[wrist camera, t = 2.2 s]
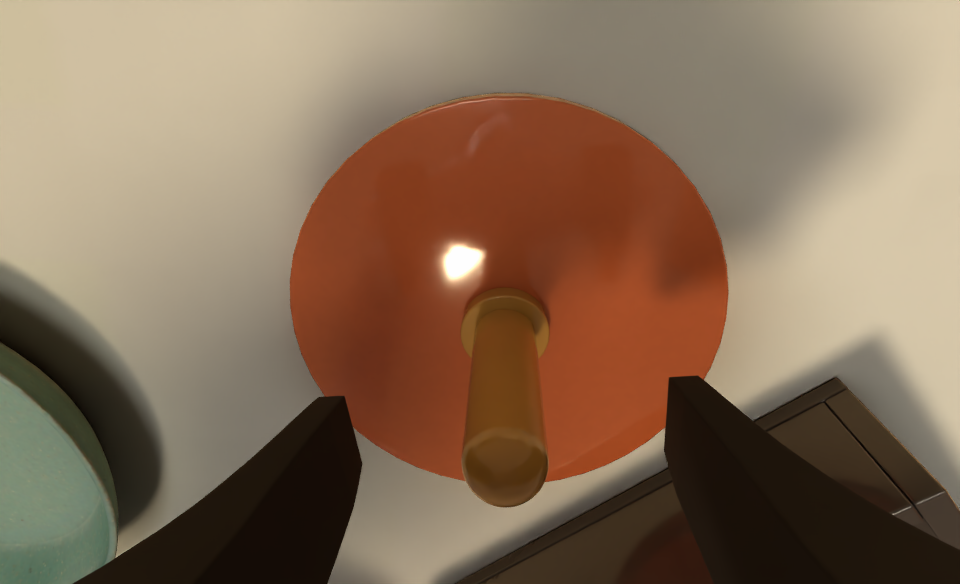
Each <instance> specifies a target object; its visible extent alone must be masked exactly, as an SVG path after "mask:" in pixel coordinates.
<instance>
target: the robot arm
mask: <svg viewBox="0 0 960 584" xmlns="http://www.w3.org/2000/svg"><path fill="white" fill-rule="evenodd" d="M664 452H665V455H666V459H667V463H668V467H669V470H670V474H671V477H672V481H673V484H674V488H675V491H676V494H677V497H678V499H679V502H680V504H681V507H682V509H683V511H684V514H685V516H686V519H687V521H688V524H689V526H690V528H691V531H692V533H693V536H694V538H695V540H696V543H697V545H698V547H699V550H700V552H701V555H702V557H703V559H704V562H705V564H706V567H707V569H708V571H709V574H710V576H711V578H712V581H713V583H714V584H960V550H959V549H957V548H955V547H953V546H951V545H949V544H947V543H945V542H943V541H941V540H939V539H937V538H935V537H933V536H931V535H930V534H928V533H926V532H924V531H922V530H920V529H918V528H916V527H914V526H913V525H911V524H909V523H907V522H905V521H903V520H901V519H899V518H897V517H896V516H894V515H892V514H890V513H889V512H887V511H885V510H883V509H882V508H880V507H878V506H876V505H875V504H873V503H871V502H869V501H868V500H866V499H865V498H863V497H861V496H860V495H858V494H856V493H855V492H853V491H852V490H850V489H848V488H847V487H845V486H843V485H842V484H840V483H838V482H837V481H835V480H834V479H832V478H831V477H829V476H828V475H826V474H825V473H823V472H822V471H820V470H819V469H817V468H816V467H814V466H813V465H811V464H810V463H809V462H807V461H806V460H804V459H803V458H801V457H800V456H799V455H797V454H796V453H794V452H793V451H791V450H790V449H789V448H787V447H786V446H785V445H783V444H782V443H781V442H779V441H778V440H777V439H775V438H774V437H773V436H771V435H770V434H769V433H767V432H766V431H765V430H764V429H762V428H761V427H760V426H759V425H757V424H756V423H755V422H753V421H752V420H751V419H750V418H749V417H747V416H746V415H745V414H744V413H742V412H741V411H740V410H739V409H738V408H736V407H735V406H734V405H733V404H732V403H730V402H729V401H728V400H727V399H726V398H724V397H723V396H722V395H721V394H720V393H718V392H717V391H716V390H715V389H714V388H713V387H711V386H710V385H709V384H708V383H707V382H705V381H704V380H703V379H702V378H700V377H699V376H698V375H696V376H679V377H669V381H668V397H667V413H666V428H665V444H664ZM361 469H362V460H361V457H360V453H359V449H358V445H357V441H356V437H355V434H354V430H353V426H352V422H351V418H350V414H349V411H348V407H347V403H346V399H345V396H329V397H318V398H317V399H316V400H315V401H313V402H312V403H311V404H310V405H309V406H308V407H307V408H306V409H304V410H303V411H302V412H301V413H300V414H299V415H298V416H297V417H296V418H295V419H294V420H293V421H292V422H290V423H289V424H288V425H287V426H286V427H285V428H284V429H283V430H282V431H281V432H280V433H279V434H278V435H276V436H275V437H274V438H273V439H272V440H271V441H270V442H269V443H268V444H267V445H265V446H264V447H263V448H262V449H261V450H260V451H259V452H258V453H257V454H256V455H254V456H253V457H252V458H251V459H250V460H249V461H248V462H246V463H245V464H244V465H243V466H242V467H240V468H239V469H238V470H237V471H236V472H234V473H233V474H232V475H231V476H230V477H229V478H227V479H226V480H225V481H224V482H223V483H221V484H220V485H219V486H218V487H217V488H215V489H214V490H213V491H212V492H210V493H209V494H208V495H207V496H205V497H204V498H203V499H201V500H200V501H199V502H198V503H196V504H195V505H194V506H192V507H191V508H190V509H188V510H187V511H185V512H184V513H183V514H181V515H180V516H178V517H177V518H176V519H174V520H173V521H171V522H170V523H169V524H167V525H166V526H164V527H163V528H161V529H160V530H159V531H157V532H156V533H154V534H152V535H151V536H149V537H148V538H146V539H145V540H143V541H142V542H140V543H138V544H137V545H135V546H134V547H132V548H131V549H129V550H127V551H126V552H124V553H123V554H121V555H120V556H118V557H116V558H115V559H113V560H112V561H110V562H109V563H107V564H105V565H104V566H102V567H100V568H99V569H97V570H95V571H93V572H92V573H90V574H88V575H86V576H85V577H83V578H81V579H80V580H78V581H76V582H74V583H73V584H328V581H329V578H330V575H331V572H332V569H333V566H334V563H335V560H336V558H337V555H338V552H339V549H340V546H341V543H342V540H343V537H344V534H345V531H346V528H347V525H348V522H349V519H350V516H351V513H352V510H353V507H354V503H355V499H356V494H357V489H358V485H359V479H360V474H361Z"/></svg>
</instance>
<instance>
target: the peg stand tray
mask: <svg viewBox="0 0 960 584" xmlns="http://www.w3.org/2000/svg"><path fill="white" fill-rule="evenodd" d="M755 423H756V424H757V425H759V426H760V427H761V428H762V429H764V430H765V431H766V432H767V433H769V434H770V435H771V436H773V437H774V438H775V439H777V440H778V441H779V442H781V443H782V444H783V445H785V446H786V447H787V448H789V449H790V450H791V451H793V452H794V453H796V454H797V455H799V456H800V457H801V458H803V459H804V460H806V461H807V462H809V463H810V464H811V465H813V466H814V467H816V468H817V469H819V470H820V471H822V472H823V473H825V474H826V475H828V476H829V477H831V478H832V479H834V480H835V481H837V482H838V483H840V484H842V485H843V486H845V487H847V488H848V489H850V490H852V491H853V492H855V493H856V494H858V495H860V496H861V497H863V498H865V499H866V500H868V501H869V502H871V503H873V504H875V505H876V506H878V507H880V508H882V509H883V510H885V511H887V512H889V513H890V514H892V515H894V516H896V517H897V518H899V519H901V520H903V521H905V522H907V523H909V524H911V525H913V526H914V527H916V528H918V529H920V530H922V531H924V532H926V533H928V534H930V535H931V536H933V537H935V538H937V539H939V540H941V541H943V542H945V543H947V544H949V545H951V546H953V547H955V548H957V549H959V550H960V510H959V508H958V507H957V505H956V504H955V502H954V501H953V499H952V498H951V496H950V495H949V493H948V492H947V490H946V489H945V488H944V487H943V486H942V485H941V484H940V483H939V482H938V481H937V480H936V479H935V478H934V477H933V476H932V474H931V473H930V472H929V471H928V470H927V469H926V468H925V467H924V466H923V465H922V464H921V463H920V462H919V461H918V460H917V459H916V458H915V457H914V456H913V455H912V454H911V453H910V452H909V451H908V450H907V449H906V448H905V447H904V446H903V445H902V444H901V443H900V441H899V440H898V439H897V438H896V437H895V436H894V435H893V434H892V433H891V432H890V431H889V430H888V429H887V428H886V427H885V426H884V425H883V424H882V423H881V422H880V421H879V420H878V419H877V418H876V417H875V416H874V415H873V414H872V413H871V412H870V411H869V409H868V408H867V407H866V406H865V405H864V404H863V403H862V402H861V401H860V400H859V399H858V398H857V397H856V396H855V395H854V394H853V393H852V392H851V391H850V390H849V389H848V388H847V387H846V386H845V385H844V384H843V383H842V382H841V381H840V380H839V379H838V378H835V379H833V380H831V381H829V382H827V383H825V384H823V385H822V386H820V387H818V388H816V389H814V390H812V391H811V392H809V393H807V394H805V395H803V396H801V397H799V398H798V399H796V400H794V401H792V402H790V403H788V404H786V405H785V406H783V407H781V408H779V409H777V410H775V411H774V412H772V413H770V414H768V415H766V416H764V417H762V418H761V419H759V420H757V421H755ZM456 584H714V583H713V581H712V578H711V576H710V574H709V571H708V569H707V567H706V564H705V562H704V559H703V557H702V555H701V552H700V550H699V547H698V545H697V543H696V540H695V538H694V536H693V533H692V531H691V528H690V526H689V524H688V521H687V519H686V516H685V514H684V511H683V509H682V507H681V504H680V502H679V499H678V497H677V494H676V491H675V488H674V484H673V481H672V477H671V474H670V470H669V468H668V469H666V470H664V471H663V472H661V473H659V474H657V475H655V476H653V477H652V478H650V479H648V480H646V481H644V482H642V483H640V484H639V485H637V486H635V487H633V488H631V489H629V490H628V491H626V492H624V493H622V494H620V495H618V496H616V497H615V498H613V499H611V500H609V501H607V502H605V503H603V504H602V505H600V506H598V507H596V508H594V509H592V510H591V511H589V512H587V513H585V514H583V515H581V516H579V517H578V518H576V519H574V520H572V521H570V522H568V523H567V524H565V525H563V526H561V527H559V528H557V529H555V530H554V531H552V532H550V533H548V534H546V535H544V536H542V537H541V538H539V539H537V540H535V541H533V542H531V543H530V544H528V545H526V546H524V547H522V548H520V549H518V550H517V551H515V552H513V553H511V554H509V555H507V556H506V557H504V558H502V559H500V560H498V561H496V562H494V563H493V564H491V565H489V566H487V567H485V568H483V569H482V570H480V571H478V572H476V573H474V574H472V575H470V576H469V577H467V578H465V579H463V580H461V581H459V582H457V583H456Z"/></svg>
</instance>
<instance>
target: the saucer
mask: <svg viewBox="0 0 960 584" xmlns="http://www.w3.org/2000/svg"><path fill="white" fill-rule="evenodd" d="M117 542H118V505H117V497H116V491H115V486H114V482H113V478H112V474H111V471H110V468H109V465H108V462H107V459H106V457H105V454H104V452H103V450H102V447H101V445H100V443H99V441H98V439H97V437H96V435H95V433H94V431H93V429H92V427H91V426H90V424H89V423H88V421H87V420H86V418H85V417H84V415H83V414H82V412H81V411H80V410H79V409H78V407H77V406H76V405H75V404H74V402H73V401H72V400H71V398H70V397H69V396H68V395H67V394H66V393H65V392H64V391H63V390H62V389H61V388H60V387H59V386H58V385H57V384H56V383H55V382H54V381H53V380H52V379H50V378H49V377H48V376H47V375H46V374H45V373H43V372H42V371H41V370H40V369H39V368H38V367H36V366H35V365H33V364H32V363H31V362H29V361H28V360H26V359H25V358H23V357H22V356H21V355H19V354H18V353H16V352H15V351H13V350H12V349H10V348H9V347H7V346H6V345H4V344H2V343H0V584H73V583H74V582H76V581H78V580H80V579H81V578H83V577H85V576H86V575H88V574H90V573H92V572H93V571H95V570H97V569H99V568H100V567H102V566H104V565H105V564H107V563H109V562H110V561H112V560H113V559H115V556H116V551H117Z"/></svg>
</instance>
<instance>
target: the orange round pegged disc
mask: <svg viewBox="0 0 960 584" xmlns="http://www.w3.org/2000/svg"><path fill="white" fill-rule="evenodd" d="M727 304H728V276H727V264H726V260H725V255H724V251H723V246H722V242H721V238H720V236H719V233H718V230H717V228H716V225H715V223H714V220H713V218H712V215H711V213H710V211H709V209H708V208H707V206H706V204H705V203H704V201H703V199H702V198H701V196H700V194H699V192H698V191H697V189H696V187H695V186H694V185H693V184H692V183H691V181H690V180H689V179H688V178H687V176H686V175H685V174H684V173H683V172H682V170H681V169H680V168H679V167H678V166H677V164H676V163H675V162H673V161H672V160H671V159H670V158H669V157H668V156H667V155H666V154H664V153H663V152H662V151H661V150H660V149H659V148H658V147H657V146H656V145H654V144H653V143H652V142H651V141H649V140H648V139H647V138H645V137H644V136H642V135H641V134H639V133H638V132H636V131H634V130H633V129H631V128H630V127H628V126H627V125H625V124H624V123H622V122H621V121H619V120H617V119H615V118H613V117H610V116H608V115H606V114H604V113H602V112H600V111H598V110H595V109H593V108H591V107H588V106H584V105H581V104H578V103H574V102H571V101H568V100H564V99H561V98H555V97H549V96H542V95H536V94H529V93H491V94H483V95H475V96H468V97H462V98H458V99H454V100H451V101H447V102H443V103H440V104H436V105H432V106H430V107H428V108H425V109H423V110H421V111H418V112H416V113H414V114H411V115H409V116H407V117H404V118H403V119H401V120H399V121H398V122H396V123H394V124H393V125H391V126H389V127H388V128H386V129H385V130H383V131H381V132H380V133H378V134H377V135H375V136H374V137H373V138H372V139H370V140H369V141H368V142H367V143H366V144H364V145H363V146H362V147H361V148H360V149H358V150H357V151H356V152H355V153H353V154H352V155H351V156H350V157H349V158H347V160H346V161H345V162H344V163H343V164H342V165H341V166H340V167H339V169H338V170H337V171H336V172H335V173H334V174H333V175H332V176H331V177H330V179H329V180H328V181H327V182H326V184H325V185H324V187H323V188H322V190H321V192H320V193H319V195H318V196H317V198H316V199H315V201H314V202H313V204H312V206H311V208H310V210H309V212H308V214H307V216H306V219H305V221H304V223H303V225H302V227H301V230H300V233H299V236H298V240H297V243H296V247H295V250H294V254H293V260H292V268H291V276H290V308H291V314H292V320H293V325H294V331H295V335H296V338H297V341H298V344H299V347H300V350H301V354H302V356H303V358H304V360H305V362H306V365H307V367H308V369H309V371H310V373H311V375H312V377H313V379H314V380H315V382H316V383H317V385H318V386H319V388H320V390H321V391H322V393H323V394H324V396H325V397H329V396H345V399H346V403H347V407H348V411H349V414H350V418H351V422H352V426H353V427H354V428H355V429H356V430H357V431H358V432H359V433H360V434H362V435H363V436H364V437H366V438H367V439H368V440H370V441H371V442H372V443H374V444H375V445H376V446H378V447H380V448H381V449H383V450H385V451H386V452H388V453H390V454H391V455H393V456H395V457H396V458H399V459H401V460H403V461H405V462H407V463H409V464H411V465H414V466H416V467H418V468H421V469H424V470H427V471H429V472H432V473H435V474H438V475H441V476H445V477H450V478H454V479H458V480H462V481H466V483H467V485H468V486H469V488H470V489H471V491H472V492H473V493H474V494H475V495H476V496H477V497H478V498H480V499H481V500H483V501H484V502H486V503H488V504H490V505H493V506H497V507H515V506H518V505H521V504H523V503H525V502H527V501H529V500H530V499H532V498H533V497H534V496H535V495H536V494H537V493H538V492H539V491H540V489H541V488H542V486H543V484H544V482H549V481H555V480H561V479H564V478H568V477H572V476H576V475H580V474H583V473H586V472H589V471H591V470H594V469H597V468H599V467H602V466H605V465H607V464H609V463H611V462H613V461H615V460H617V459H619V458H621V457H623V456H625V455H627V454H629V453H630V452H632V451H633V450H635V449H636V448H638V447H640V446H641V445H643V444H644V443H646V442H647V441H649V440H650V439H651V438H652V437H654V436H655V435H656V434H657V433H659V432H660V431H661V430H662V429H663V428H665V427H666V413H667V397H668V381H669V377H679V376H696V375H698V376H699V377H700V378H702V379H703V380H704V378H705V376H706V375H707V373H708V371H709V369H710V368H711V365H712V363H713V360H714V358H715V355H716V353H717V350H718V348H719V345H720V342H721V338H722V334H723V330H724V326H725V321H726V315H727Z"/></svg>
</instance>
